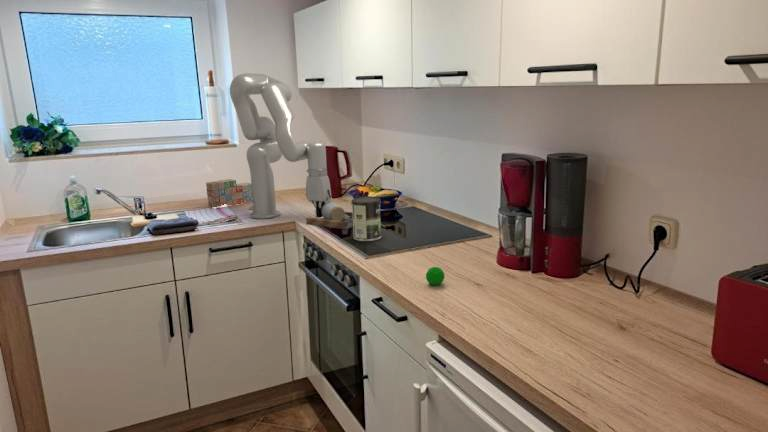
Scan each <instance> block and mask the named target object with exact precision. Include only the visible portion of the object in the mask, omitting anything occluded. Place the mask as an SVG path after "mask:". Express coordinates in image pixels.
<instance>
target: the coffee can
mask: <svg viewBox="0 0 768 432" xmlns="http://www.w3.org/2000/svg"><path fill="white" fill-rule="evenodd" d="M380 201H381V198H379V197H376V196H363V197H361V196H360V197H356V198H353V199H351V209H352V211H351V212H352V214H353V227H352V228H353V230H352V231H353V233H352V234H353V237H352V239H354V240H355V241H359V242H372V241H377V240H380V239H381V238H382V222H381V219H382V217H381V204H380Z"/></svg>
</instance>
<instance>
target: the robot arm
mask: <svg viewBox="0 0 768 432" xmlns="http://www.w3.org/2000/svg"><path fill="white" fill-rule="evenodd" d="M229 95H230V96H229V97H230V99H231V102H232V105H233V107H234V109H235V111H236V115H237V119H238V122H239V124H240V129H241V131H242V134H243V136H244V138H245V139H246V140H248V141H257V140H258V141H259V142H255V143H253V144H251V145H250V146H249V147H248V148H247V150H246V161H247V164H248V167H249V168H248V169H249V173H250V181H251V182H250V183H251V184H252V196H253V202H252V204H251V205H250V206H249V207H248V210H249V211H252V212H251V213H250V214H249V215H250V218H252V219H257V220H263V219H264V220H265V219H274V218H277V217H279V216H280V215H281V211H279V210H277V204H276V203H277V202H276V191H275V190H276V189H275V178H274V171H273V169H272V167H271V164H273V163H276V162H278V161H280V160H281V158H282V156H283V157H284V159H285V160H287V161H289V162H291V163H296V162H299V161H305V160H307V168H308V169H306V172H307V173H308V175H307V176H306V183H305V197H306V200H307V201H308V202H309V203H311V204H313V207H314V208H315V214H316V218H318V219H321V218H324V217H323V216H322V207H323V206H324V204H329V203H331V202H330V199H331V197H332V189H331V182H330V178H329V176H328V168H327V150H326V149H327V148H326V147H327V146H326V144H325V143H324V142H322V141H316V142H311V141H305V140H304V141H303V140H302V141H297V142H296V141H295V140H294V138H293V136H292V134H291V124H292V122H293V120H294V118H295V114H294V112H293V110H292V107H291V105H290V103H289V102H290V101H291V99H292V95H293V93H292V89H291V87H290V86H289V85H288V84H286V83H285V82H283V81H280V80H278V79H275V77H274V78H273V77H271V76H269V75H266V74H263V73H240V74H238V75H236V76H235V77H234V78H233V79H232V81H231V82H230V85H229ZM251 95H261V97H262V100H263V102H264V104H265V105H266V108H267V110H268V112H269V114H270V115H271V118H270V117H267V116H260V114H259V111H258V107H257V105H256V103H255V102H254V100H253V99H252V98H251ZM325 200H326V201H325Z"/></svg>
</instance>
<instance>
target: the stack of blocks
mask: <svg viewBox="0 0 768 432" xmlns="http://www.w3.org/2000/svg"><path fill="white" fill-rule="evenodd" d="M205 184H206V195H207V204H208V208H209V207H210V208H209V209H212V207H217V206H221V205H224V204H227V205H236V204H241V203H246V204H248V203H247V202H252V203H253V196H252V184H251V182H240V183H237V180H236V179H232V178H226V179H220V180H216V181H215V180H214V181H209V182H206V183H205ZM241 205H242V204H241ZM236 206H237V205H236Z"/></svg>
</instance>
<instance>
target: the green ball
mask: <svg viewBox="0 0 768 432" xmlns="http://www.w3.org/2000/svg"><path fill="white" fill-rule="evenodd" d="M427 270H428V271H427V272H426V274H425V279H426V281H427V282H428V284H430V285H432V286H438V285H441V284H442V283H443V281H444V280H445V273H444V270H443V269H442V268H440V267H437V266H433V267H431V268H430V267H429V268H428V269H427Z"/></svg>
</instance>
